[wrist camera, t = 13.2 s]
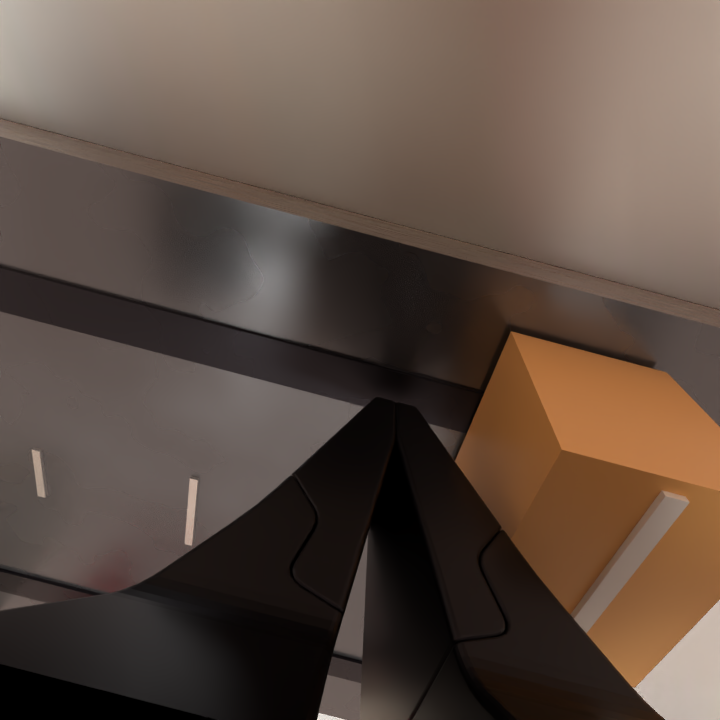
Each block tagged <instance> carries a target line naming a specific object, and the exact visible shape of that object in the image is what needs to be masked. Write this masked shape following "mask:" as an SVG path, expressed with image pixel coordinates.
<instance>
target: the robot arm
mask: <svg viewBox="0 0 720 720" xmlns="http://www.w3.org/2000/svg"><path fill="white" fill-rule="evenodd" d="M501 529H502V527H501V525H500V524H499V522H498V521H497V519H496V518H495V517H494V515H493V514H492V512H491V511H490V510H489V508H488V507H487V505H486V504H485V503H484V501H483V500H482V498H481V497H480V496H479V494H478V493H477V491H476V490H475V489H474V487H473V486H472V484H471V483H470V482H469V480H468V479H467V477H466V476H465V475H464V473H463V472H462V470H461V469H460V468H459V466H458V465H457V463H456V462H455V461H454V459H453V458H452V456H451V455H450V454H449V452H448V451H447V449H446V448H445V447H444V445H443V444H442V442H441V441H440V440H439V438H438V437H437V435H436V434H435V433H434V431H433V430H432V428H431V427H430V426H429V424H428V423H427V421H426V420H425V419H424V417H423V416H422V414H421V413H420V412H419V410H418V409H417V408H416V407H415V406H411V405H407V404H404V403H400V402H397V403H395V402H394V401H392V400H388V399H384V398H380V397H375V398H374V399H373V400H372V401H370V402H369V403H368V404H367V405H366V406H365V407H364V408H363V409H362V410H361V411H360V412H358V413H357V414H356V415H355V416H354V417H353V418H352V419H351V420H350V421H349V422H348V423H346V424H345V425H344V426H343V427H342V428H341V429H340V430H339V431H338V432H337V433H336V434H335V435H333V436H332V437H331V438H330V439H329V440H328V441H327V442H326V443H325V444H324V445H323V446H321V447H320V448H319V449H318V450H317V451H316V452H315V453H314V454H313V455H312V456H311V457H309V458H308V459H307V460H306V461H305V462H304V463H303V464H302V465H301V466H300V467H299V468H297V469H296V470H295V471H294V472H293V473H292V475H291V476H288V477H287V478H286V479H285V480H284V481H283V482H282V483H281V484H280V485H279V486H278V487H277V488H275V489H274V490H273V491H272V492H271V493H269V494H268V495H267V496H266V497H265V498H263V499H262V500H261V501H260V502H259V503H258V504H256V505H255V506H254V507H252V508H251V509H249V510H248V511H247V512H245V513H244V514H242V515H241V516H240V517H238V518H237V519H236V520H234V521H233V522H231V523H230V524H228V525H227V526H225V527H224V528H222V529H221V530H220V531H218V532H217V533H215V534H214V535H212V536H211V537H209V538H208V539H206V540H205V541H203V542H202V543H200V544H199V545H197V546H196V547H195V548H193V549H192V550H190V551H189V552H187V553H186V554H184V555H183V556H181V557H180V558H178V559H177V560H175V561H174V562H172V563H171V564H169V565H168V566H167V567H165V568H164V569H162V570H160V571H159V572H157V573H156V574H154V575H153V576H151V577H149V578H147V579H145V580H143V581H141V582H139V583H137V584H135V585H133V586H130V587H128V588H126V589H122V590H119V591H116V592H112V593H107V594H102V595H95V596H89V597H82V598H76V599H69V600H63V601H57V602H50V603H44V604H37V605H31V606H24V607H18V608H11V609H5V610H0V720H317V717H318V713H319V709H320V705H321V700H322V696H323V692H324V688H325V683H326V679H327V675H328V671H329V667H330V662H331V659H332V655H333V651H334V648H335V644H336V640H337V637H338V633H339V630H340V627H341V623H342V619H343V616H344V613H345V610H346V606H347V603H348V600H349V596H350V593H351V590H352V586H353V583H354V580H355V576H356V573H357V570H358V566H359V563H360V559H361V556H362V553H363V549H364V546H365V543H366V539H367V536H368V545H367V567H366V589H365V610H364V632H363V654H362V676H361V698H360V720H665V719H664V718H663V717H661V716H660V715H659V714H658V713H657V712H656V711H655V710H654V709H653V708H652V707H651V706H649V705H648V704H647V703H646V702H645V701H644V700H643V699H642V697H641V696H640V695H639V694H638V693H637V692H636V691H635V690H634V689H633V688H632V686H631V685H630V684H629V683H628V682H627V681H626V679H625V678H624V677H623V676H622V675H621V674H620V672H619V671H618V670H617V669H616V668H615V667H614V665H613V664H612V663H611V662H610V661H609V660H608V658H607V657H606V656H605V655H604V654H603V653H602V651H601V650H600V649H599V648H598V647H597V645H596V644H595V643H594V642H593V641H592V640H591V638H590V637H589V636H588V635H587V634H586V633H585V631H584V630H583V629H582V628H581V627H580V626H579V624H578V623H577V622H576V621H575V620H574V618H573V617H572V616H571V615H570V614H569V613H568V611H567V610H566V609H565V608H564V607H563V606H562V604H561V603H560V602H559V601H558V599H557V598H556V597H555V596H554V595H553V593H552V592H551V591H550V590H549V589H548V587H547V586H546V585H545V584H544V582H543V581H542V580H541V579H540V578H539V576H538V575H537V574H536V572H535V571H534V570H533V568H532V567H531V566H530V565H529V563H528V562H527V561H526V559H525V558H524V557H523V555H522V554H521V553H520V551H519V550H518V549H517V547H516V546H515V544H514V543H513V542H512V540H511V539H510V537H509V536H508V535H507V533H506V532H505V531H504V530H501Z"/></svg>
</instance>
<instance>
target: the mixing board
mask: <svg viewBox="0 0 720 720" xmlns="http://www.w3.org/2000/svg"><path fill="white" fill-rule="evenodd" d="M511 331H512V332H516V333H520V334H523V335H527V336H531V337H535V338H539V339H542V340H546V341H550V342H554V343H557V344H561V345H565V346H569V347H573V348H576V349H580V350H584V351H588V352H591V353H595V354H599V355H603V356H607V357H610V358H614V359H618V360H622V361H626V362H629V363H633V364H637V365H641V366H644V367H648V368H652V369H656V370H660V371H663V372H667V373H668V374H669V375H670V376H671V377H672V378H673V379H674V380H675V381H676V382H677V383H678V384H679V385H680V387H681V388H682V389H683V390H684V391H685V392H686V393H687V394H688V395H689V396H690V397H691V398H692V399H693V400H694V401H695V402H696V403H697V404H698V405H699V406H700V407H701V408H702V409H703V410H704V411H705V412H706V413H707V414H708V415H709V416H710V417H711V418H712V419H713V421H714V422H715V423H716V424H717V425H718V426H719V427H720V310H718V309H714V308H710V307H707V306H703V305H699V304H695V303H692V302H688V301H684V300H680V299H677V298H673V297H669V296H665V295H662V294H658V293H654V292H650V291H647V290H643V289H639V288H635V287H632V286H628V285H624V284H620V283H616V282H613V281H609V280H605V279H601V278H598V277H594V276H590V275H586V274H583V273H579V272H575V271H571V270H568V269H564V268H560V267H556V266H553V265H549V264H545V263H541V262H538V261H534V260H530V259H526V258H522V257H519V256H515V255H511V254H507V253H504V252H500V251H496V250H492V249H489V248H485V247H481V246H477V245H474V244H470V243H466V242H462V241H459V240H455V239H451V238H447V237H444V236H440V235H436V234H432V233H428V232H425V231H421V230H417V229H413V228H410V227H406V226H402V225H398V224H395V223H391V222H387V221H383V220H380V219H376V218H372V217H368V216H365V215H361V214H357V213H353V212H350V211H346V210H342V209H338V208H334V207H331V206H327V205H323V204H319V203H316V202H312V201H308V200H304V199H301V198H297V197H293V196H289V195H286V194H282V193H278V192H274V191H271V190H267V189H263V188H259V187H256V186H252V185H248V184H244V183H240V182H237V181H233V180H229V179H225V178H222V177H218V176H214V175H210V174H207V173H203V172H199V171H195V170H192V169H188V168H184V167H180V166H177V165H173V164H169V163H165V162H162V161H158V160H154V159H150V158H146V157H143V156H139V155H135V154H131V153H128V152H124V151H120V150H116V149H113V148H109V147H105V146H101V145H98V144H94V143H90V142H86V141H83V140H79V139H75V138H71V137H68V136H64V135H60V134H56V133H52V132H49V131H45V130H41V129H37V128H34V127H30V126H26V125H22V124H19V123H15V122H11V121H7V120H4V119H0V610H5V609H11V608H18V607H24V606H31V605H37V604H44V603H50V602H57V601H63V600H69V599H76V598H82V597H89V596H95V595H102V594H107V593H112V592H116V591H119V590H122V589H126V588H128V587H130V586H133V585H135V584H137V583H139V582H141V581H143V580H145V579H147V578H149V577H151V576H153V575H154V574H156V573H157V572H159V571H160V570H162V569H164V568H165V567H167V566H168V565H169V564H171V563H172V562H174V561H175V560H177V559H178V558H180V557H181V556H183V555H184V554H186V553H187V552H189V551H190V550H192V549H193V548H195V547H196V546H197V545H199V544H200V543H202V542H203V541H205V540H206V539H208V538H209V537H211V536H212V535H214V534H215V533H217V532H218V531H220V530H221V529H222V528H224V527H225V526H227V525H228V524H230V523H231V522H233V521H234V520H236V519H237V518H238V517H240V516H241V515H242V514H244V513H245V512H247V511H248V510H249V509H251V508H252V507H254V506H255V505H256V504H258V503H259V502H260V501H261V500H262V499H263V498H265V497H266V496H267V495H268V494H269V493H271V492H272V491H273V490H274V489H275V488H277V487H278V486H279V485H280V484H281V483H282V482H283V481H284V480H285V479H286V478H287V477H288V476H291V475H292V473H293V472H294V471H295V470H296V469H297V468H299V467H300V466H301V465H302V464H303V463H304V462H305V461H306V460H307V459H308V458H309V457H311V456H312V455H313V454H314V453H315V452H316V451H317V450H318V449H319V448H320V447H321V446H323V445H324V444H325V443H326V442H327V441H328V440H329V439H330V438H331V437H332V436H333V435H335V434H336V433H337V432H338V431H339V430H340V429H341V428H342V427H343V426H344V425H345V424H346V423H348V422H349V421H350V420H351V419H352V418H353V417H354V416H355V415H356V414H357V413H358V412H360V411H361V410H362V409H363V408H364V407H365V406H366V405H367V404H368V403H369V402H370V401H372V400H373V399H374V398H375V397H380V398H384V399H388V400H392V401H394V402H395V403H397V402H400V403H404V404H407V405H411V406H415V407H416V408H417V409H418V410H419V412H420V413H421V414H422V416H423V417H424V419H425V420H426V421H427V423H428V424H429V426H430V427H431V428H432V430H433V431H434V433H435V434H436V435H437V437H438V438H439V440H440V441H441V442H442V444H443V445H444V447H445V448H446V449H447V451H448V452H449V454H450V455H451V456H452V458H453V459H454V461H455V460H456V458H457V455H458V453H459V451H460V448H461V446H462V444H463V441H464V439H465V437H466V434H467V432H468V430H469V427H470V425H471V423H472V420H473V418H474V416H475V413H476V411H477V409H478V407H479V404H480V402H481V400H482V397H483V395H484V393H485V390H486V388H487V386H488V383H489V381H490V379H491V376H492V374H493V372H494V369H495V367H496V365H497V362H498V360H499V358H500V356H501V353H502V351H503V349H504V346H505V344H506V342H507V339H508V337H509V335H510V332H511ZM367 545H368V536H367V539H366V543H365V546H364V549H363V553H362V556H361V559H360V563H359V566H358V570H357V573H356V576H355V580H354V583H353V586H352V590H351V593H350V596H349V600H348V603H347V606H346V610H345V613H344V616H343V619H342V623H341V627H340V630H339V633H338V637H337V640H336V644H335V648H334V651H333V655H332V659H331V662H330V667H329V671H328V675H327V679H326V683H325V688H324V692H323V696H322V700H321V705H320V709H319V713H322V714H326V715H330V716H334V717H338V718H342V719H346V720H360V698H361V676H362V654H363V632H364V610H365V589H366V567H367Z"/></svg>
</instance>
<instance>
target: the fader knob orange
mask: <svg viewBox="0 0 720 720" xmlns="http://www.w3.org/2000/svg"><path fill="white" fill-rule="evenodd" d="M455 462H456V463H457V465H458V466H459V468H460V469H461V470H462V472H463V473H464V475H465V476H466V477H467V479H468V480H469V482H470V483H471V484H472V486H473V487H474V489H475V490H476V491H477V493H478V494H479V496H480V497H481V498H482V500H483V501H484V503H485V504H486V505H487V507H488V508H489V510H490V511H491V512H492V514H493V515H494V517H495V518H496V519H497V521H498V522H499V524H500V525H501V527H502V529H501V530H504V531H505V532H506V533H507V535H508V536H509V537H510V539H511V540H512V542H513V543H514V544H515V546H516V547H517V549H518V550H519V551H520V553H521V554H522V555H523V557H524V558H525V559H526V561H527V562H528V563H529V565H530V566H531V567H532V568H533V570H534V571H535V572H536V574H537V575H538V576H539V578H540V579H541V580H542V581H543V582H544V584H545V585H546V586H547V587H548V589H549V590H550V591H551V592H552V593H553V595H554V596H555V597H556V598H557V599H558V601H559V602H560V603H561V604H562V606H563V607H564V608H565V609H566V610H567V611H568V613H569V614H570V615H571V616H572V617H573V618H574V620H575V621H576V622H577V623H578V624H579V626H580V627H581V628H582V629H583V630H584V631H585V633H586V634H587V635H588V636H589V637H590V638H591V640H592V641H593V642H594V643H595V644H596V645H597V647H598V648H599V649H600V650H601V651H602V653H603V654H604V655H605V656H606V657H607V658H608V660H609V661H610V662H611V663H612V664H613V665H614V667H615V668H616V669H617V670H618V671H619V672H620V674H621V675H622V676H623V677H624V678H625V679H626V681H627V682H628V683H629V684H630V685H631V686H632V687H634V688H635V687H636V686H637V685H638V684H639V683H640V682H641V681H642V680H643V679H644V678H645V676H646V675H647V674H648V673H649V672H650V671H651V670H652V669H653V668H654V667H655V666H656V665H657V664H658V663H659V662H660V661H661V660H662V659H663V658H664V657H665V656H666V655H667V654H668V653H669V652H670V651H671V649H672V648H673V647H674V646H675V645H676V644H677V643H678V642H679V641H680V640H681V639H682V638H683V637H684V636H685V635H686V634H687V633H688V632H689V631H690V630H691V629H692V628H693V627H694V626H695V625H696V624H697V622H698V621H699V620H700V619H701V618H702V617H703V616H704V615H705V614H706V613H707V612H708V611H709V610H710V609H711V608H712V607H713V606H714V605H715V604H716V603H717V602H718V601H719V600H720V427H719V426H718V425H717V424H716V423H715V422H714V421H713V419H712V418H711V417H710V416H709V415H708V414H707V413H706V412H705V411H704V410H703V409H702V408H701V407H700V406H699V405H698V404H697V403H696V402H695V401H694V400H693V399H692V398H691V397H690V396H689V395H688V394H687V393H686V392H685V391H684V390H683V389H682V388H681V387H680V385H679V384H678V383H677V382H676V381H675V380H674V379H673V378H672V377H671V376H670V375H669V374H668V373H667V372H663V371H660V370H656V369H652V368H648V367H644V366H641V365H637V364H633V363H629V362H626V361H622V360H618V359H614V358H610V357H607V356H603V355H599V354H595V353H591V352H588V351H584V350H580V349H576V348H573V347H569V346H565V345H561V344H557V343H554V342H550V341H546V340H542V339H539V338H535V337H531V336H527V335H523V334H520V333H516V332H512V331H511V332H510V335H509V337H508V339H507V342H506V344H505V346H504V349H503V351H502V353H501V356H500V358H499V360H498V362H497V365H496V367H495V369H494V372H493V374H492V376H491V379H490V381H489V383H488V386H487V388H486V390H485V393H484V395H483V397H482V400H481V402H480V404H479V407H478V409H477V411H476V413H475V416H474V418H473V420H472V423H471V425H470V427H469V430H468V432H467V434H466V437H465V439H464V441H463V444H462V446H461V448H460V451H459V453H458V455H457V458H456V460H455Z"/></svg>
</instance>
